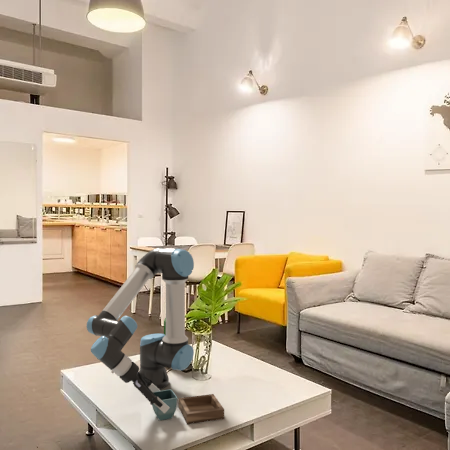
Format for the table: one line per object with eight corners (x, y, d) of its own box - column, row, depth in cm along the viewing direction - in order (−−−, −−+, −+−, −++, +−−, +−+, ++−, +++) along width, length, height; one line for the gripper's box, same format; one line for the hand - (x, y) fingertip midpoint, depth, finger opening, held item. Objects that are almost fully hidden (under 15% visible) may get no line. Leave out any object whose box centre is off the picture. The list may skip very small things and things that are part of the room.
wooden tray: (178, 407, 185) (178, 398, 185) (213, 403, 190) (213, 393, 190) (187, 424, 171) (187, 414, 171) (224, 419, 176) (224, 409, 176)
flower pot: (155, 424, 171) (155, 401, 171) (149, 414, 179) (150, 392, 179) (177, 420, 175) (177, 397, 174) (171, 410, 183) (171, 389, 182)
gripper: (115, 365, 182) (152, 397, 187) (121, 389, 158) (162, 425, 164) (129, 351, 183) (164, 383, 189) (136, 373, 160) (177, 409, 165)
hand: (163, 402), depth 176 cm, fingers open, 13 cm apart
